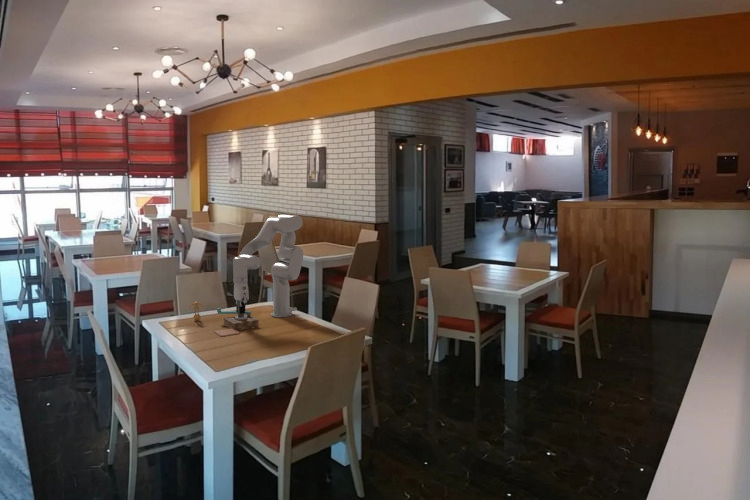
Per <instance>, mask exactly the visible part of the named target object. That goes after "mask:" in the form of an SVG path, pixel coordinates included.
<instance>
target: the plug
mask: <svg viewBox="0 0 750 500" xmlns="http://www.w3.org/2000/svg"><path fill="white" fill-rule="evenodd" d="M242 301H243V300H242ZM244 315H245V314H244V313H243V314H240V301H239V300H238V314H237V315H235V316H236V317H235V316H234V317H235V319H236V320H237V321H241V320H245V319H247V316H244Z"/></svg>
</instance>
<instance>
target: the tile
mask: <svg viewBox="0 0 750 500" xmlns="http://www.w3.org/2000/svg"><path fill="white" fill-rule="evenodd" d="M213 333H214V334H216V335H218V336H219V337H228V336H234V335H240V334H241V333H240V332H239V330H234V329H230V328H228V329H227V328H226V329H220V330H214V331H213Z"/></svg>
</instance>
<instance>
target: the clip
mask: <svg viewBox="0 0 750 500" xmlns="http://www.w3.org/2000/svg"><path fill="white" fill-rule="evenodd" d="M216 312H217V314H220V315H238V312H236V310H222V309H221V307H218V308H216ZM247 314H252V311H251V310H245V313H244V315H247Z"/></svg>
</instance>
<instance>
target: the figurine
mask: <svg viewBox="0 0 750 500" xmlns="http://www.w3.org/2000/svg"><path fill="white" fill-rule="evenodd" d="M191 306H194V307H193V309H194V314H193V320H194V321H196V322H197V321H200V319H201V314H200V313H199V312H200V306H201V307H202V308H203V309H205V307H204V306H203V304H202V303H199V302H198V300H195V302H194V303H191V304H190V305H189V307H188V310H190V309H191ZM196 311H197V312H196Z"/></svg>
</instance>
